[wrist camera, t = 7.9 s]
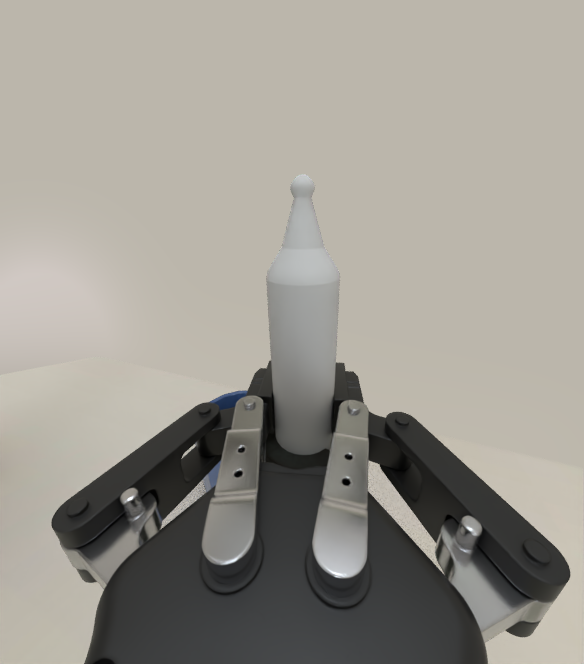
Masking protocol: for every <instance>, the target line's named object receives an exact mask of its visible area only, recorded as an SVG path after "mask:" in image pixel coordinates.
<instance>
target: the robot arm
mask: <svg viewBox="0 0 584 664" xmlns="http://www.w3.org/2000/svg"><path fill="white" fill-rule="evenodd" d="M274 430H275V416H274V399H273V382H272V365H271V361H269V363H268V366H267V369H265V368H264V369H263V368H261V369H259V370H258V371H257V372H256V373H255V375H254V377H253V380H252V382H251V384H250V387H249V389H248V391H247V394H246V396H245V397H243V398H241V399H239V400H238V401H237V403H236V406H235V407H233V408H229V409H223V410H220V409H219V406H218V405H217V404H215V403H212V402H207V403H202V404H199V405H197V406H196V407H194V408H193V409H191V410H190V411H189V412H187V413H186V414H185V415H183V416H182V417H180V418H179V419H178V420H176V421H175V422H174V423H172V424H171V425H170V426H168V427H167V428H165V429H164V430H163V431H161V432H160V433H159V434H157V435H156V436H155V437H153V438H152V439H150V440H149V441H148V442H146V443H145V444H144V445H142V446H141V447H139V448H138V449H137V450H135V451H134V452H133V453H131V454H130V455H129V456H127V457H126V458H124V459H123V460H122V461H120V462H119V463H118V464H116V465H115V466H114V467H112V468H111V469H109V470H108V471H107V472H105V473H104V474H103V475H101V476H100V477H99V478H97V479H96V480H94V481H93V482H92V483H90V484H89V485H88V486H86V487H85V488H83V489H82V490H81V491H79V492H78V493H77V494H75V495H74V496H73V497H71V498H70V499H68V500H67V501H66V502H65V503H64V504H63V505H61V506H60V508H59V509H58V510H57V511H56V513H55V514H54V516H53V519H52V528H53V530H54V531H55V533H56V535H57V536H58V538H59V540H60V545H61V547H62V549H63V550H64V552H65V554H66V555H67V557H68V559H69V560H70V562H71V564H72V565H73V567H75V568H76V569H77V571H78V572H79V574H80V576H81V578H82V579H83V580H84V581H85V582H88V583H93V582H98V583H99V584H100V586H101V587H102V588H103V589H104V591H103V594H102V596H101V598H100V601H99V604H98V608H97V612H96V617H95V624H94V631H93V635H92V640H91V644H90V648H89V651H88V654H87V658H86V660H85V663H84V664H488V659H487V652H486V647H485V643H486V642H487V641H489V640H490V639H492V638H494V637H495V636H497V635H498V634H500V633H502V632H503V631H507V632H509V633H510V634H512V635H515V636H518V637H528V636H530V635H531V634H532V633H533V631H534V630H535V629H536V627H537V626H538V624H539V623H540V621H541V620H542V618H543V617H544V615H545V614H546V613H547V611H548V610H549V608H550V607H551V605H552V604H553V602H554V601H555V599H556V598H557V596H558V595H559V594H560V592H561V591H562V589H563V588H564V586H565V585H566V583H567V582H568V580H569V578H570V569H569V566H568V564H567V562H566V560H565V558H564V557H563V555H562V554H561V553H560V552H559V550H558V549H557V548H556V547H555V546H554V545H553V544H552V543H551V542H549V541H548V540H547V539H546V538H545V537H544V536H543V535H542V534H541V533H540V532H538V531H537V530H536V529H535V528H534V527H533V526H532V525H531V524H530V523H529V522H528V521H526V520H525V519H524V518H523V517H522V516H521V515H520V514H519V513H518V512H517V511H515V510H514V509H513V508H512V507H511V506H510V505H509V504H508V503H507V502H506V501H505V500H503V499H502V498H501V497H500V496H499V495H498V494H497V493H496V492H495V491H494V490H492V489H491V488H490V487H489V486H488V485H487V484H486V483H485V482H484V481H483V480H482V479H480V478H479V477H478V476H477V475H476V474H475V473H474V472H473V471H472V470H471V469H469V468H468V467H467V466H466V465H465V464H464V463H463V462H462V461H461V460H460V459H459V458H457V457H456V456H455V455H454V454H453V453H452V452H451V451H450V450H449V449H448V448H446V447H445V446H444V445H443V444H442V443H441V442H440V441H439V440H438V439H437V438H436V437H434V436H433V435H432V434H431V433H430V432H429V431H428V430H427V429H426V428H425V427H423V426H422V425H421V424H420V423H419V422H418V421H417V420H416V419H415V418H413V417H412V416H410V415H408V414H406V413H402V412H393V413H390V414H388V415H387V417H386V418H384V417H380V416H377V415H374V414H372V413H371V412H369V410H368V408H367V406H366V405H365V404H364V402H363V397H362V393H361V388H360V384H359V379H358V376H357V375H356V374H355V373H354V372H348V371H345V366H344V363H336V367H335V387H334V402H333V422H332V443H331V448H330V454H329V459H328V464H327V467H326V466H315V467H308V468H302V469H290V468H287V467H284V466H281V465H278V464H274V463H269V462H266V450H267V443H266V440H267V436H268V433H270V434H274ZM195 443H196V444H197V446H196V447H195V448H194V449H192V450H191V451H190V452H189V453H188V454H187V455H186V456H184V457H183V458H182V456H183V454H184V453H185V452H186V451H187V450H188V449H189V448H190V447H191V446H193V445H194V444H195ZM181 458H182V459H181ZM368 460H369V461H372V462H375V463H378V464H380V467H381V469H382V471H383V472H384V474H385V475H386V476H387V478H388V479H389V480H390V482H391V483H392V484H393V486H394V487H395V488H396V490H397V491H398V492H399V494H400V495H401V496H402V498H403V499H404V501H405V502H406V503H407V505H408V506H409V507H410V509H411V510H412V511H413V513H414V514H415V515H416V517H417V518H418V519H419V521H420V522H421V523H422V525H423V526H424V527H425V529H426V530H427V531H428V533H429V534H430V536H431V537H432V538H433V540H434V541H435V542H436V547H435V555H436V558H437V561H438V563H439V565H440V567H441V568H442V570H443V572H444V574H443V573H442V572H441V571H440V570H439V569H438V568H437V567H436V565H435V564H434V563H433V562H432V561H431V560H430V559H429V558H428V557H427V556H426V554H425V553H424V552H423V551H422V550H421V549H420V548H419V547H418V546H417V545H416V543H415V542H414V541H413V540H412V539H411V538H410V537H409V536H408V535H407V534H406V532H405V531H404V530H403V529H402V528H401V527H400V526H399V525H398V524H397V523H396V521H395V520H394V519H393V518H392V517H391V516H390V515H389V514H388V513H387V511H386V510H385V509H384V508H383V507H382V506H381V505H380V504H379V503H378V502H377V500H376V499H375V498H374V497H373V496H372V495H371V494H370V493H369V492H368ZM220 461H221V463H220V468H219V473H218V478H217V483H216V485H215V486H214V487H213V488H212V489H210V490H209V491H208V492H207V493H205V494H204V495H203V496H202V497H200V498H199V499H198V500H197V501H196V502H194V503H193V504H192V505H191V506H189V507H188V508H187V509H186V510H184V511H183V512H182V513H181V514H179V515H178V516H177V517H176V518H175V519H173V520H172V521H171V522H170V523H168V524H167V525H166V526H165V527H163V528H162V529H161V526H162V521H163V520H164V519H165V518H166V517H167V515H168V514H169V513H170V512H171V511H172V510H173V509H174V508H175V507H176V506H177V505H178V504H179V503H180V502H181V501H182V500H183V499H184V498H185V497H186V496H187V495H188V494H189V493H190V492H191V491H192V490H193V489H194V488H195V487H196V486H197V485H198V484H199V482H200V481H201V480H202V479H203V478H204V477H205V476H206V475H207V474H208V473H209V472H210V471H211V470H212V469H213V468H214V467H215V466H216V465H217V464H218V463H219V462H220ZM160 529H161V530H160Z"/></svg>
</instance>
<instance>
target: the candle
mask: <svg viewBox="0 0 584 664" xmlns="http://www.w3.org/2000/svg"><path fill="white" fill-rule="evenodd" d="M314 188H315V187H314V183H313V181H312V180H311V179H310V177H308V176H307V175H304V174H302V175H298V176H297V177H296V178H295V179H294V180H293V182H292V184H291V192H292V195H293V197H294V200H293V204H292V208H291V212H290V216H289V220H288V224H287V228H286V232H285V236H284V240H283V244H282V248H281V249H280V251H279V253H278V255H277V256H276V258H275V259H274V261H273V263H272V265H271V267H270V269H269V270H268V273H267V297H268V314H269V331H270V347H271V365H272V382H273V399H274V416H275V430H274V434H270V433H268V436H267V440H266V443H267V450H266V462H269V463H274V464H278V465H281V466H284V467H287V468H290V469H302V468H308V467H315V466H326V467H327V464H328V459H329V454H330V448H331V443H332V422H333V402H334V387H335V367H336V346H337V324H338V304H339V285H340V284H339V283H340V274H339V271H338V269H337V267H336V265H335V264H334V262H333V260H332V259H331V257H330V256H329V254H328V252H327V251H326V249H325V247H324V244H323V240H322V237H321V233H320V229H319V225H318V222H317V218H316V214H315V210H314V207H313V202H312V199H311V197H312V194H313V192H314Z"/></svg>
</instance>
